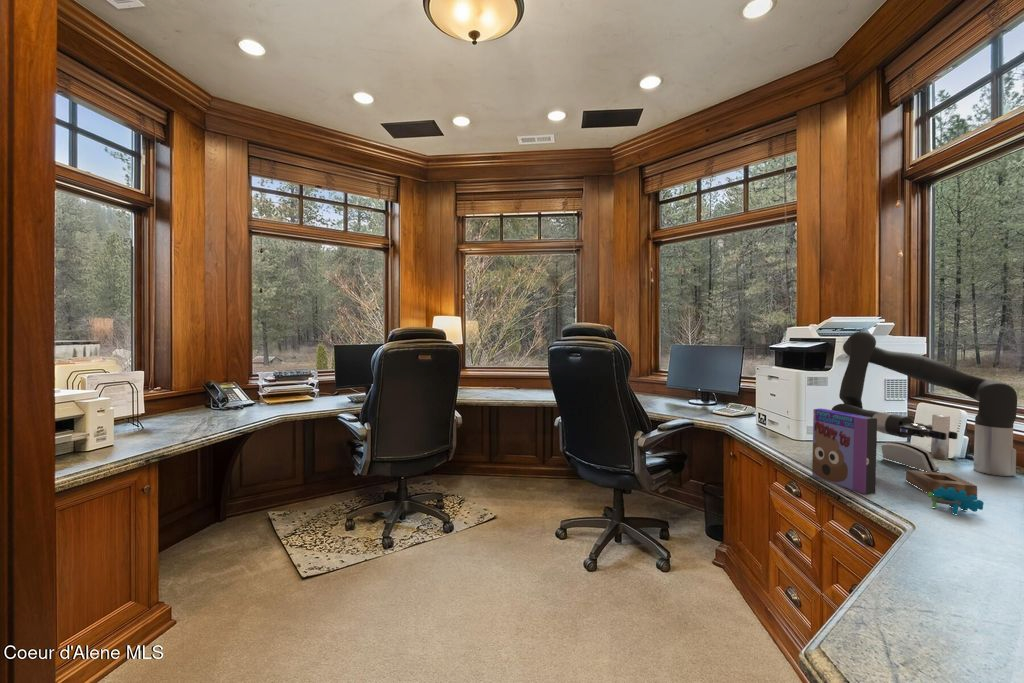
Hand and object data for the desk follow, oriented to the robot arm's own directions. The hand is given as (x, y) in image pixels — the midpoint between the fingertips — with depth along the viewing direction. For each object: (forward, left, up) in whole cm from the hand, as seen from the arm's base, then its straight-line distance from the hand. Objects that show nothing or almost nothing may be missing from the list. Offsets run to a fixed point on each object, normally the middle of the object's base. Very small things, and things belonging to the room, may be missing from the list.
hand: (950, 436), depth 134 cm
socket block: (+1, -2, -18) cm, 18 cm away
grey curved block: (-3, -30, -18) cm, 35 cm away
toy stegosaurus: (+8, +18, -18) cm, 27 cm away
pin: (+1, -2, -8) cm, 8 cm away
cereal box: (+29, +2, -18) cm, 35 cm away
